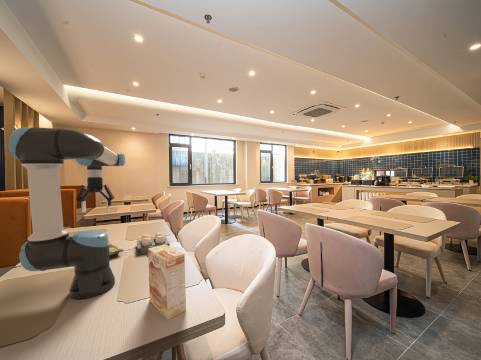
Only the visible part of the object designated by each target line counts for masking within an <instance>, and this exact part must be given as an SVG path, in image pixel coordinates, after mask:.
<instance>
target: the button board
mask: <svg viewBox="0 0 481 360" xmlns="http://www.w3.org/2000/svg"><path fill="white" fill-rule="evenodd" d="M163 236H164V235H163ZM150 238H151V245H150V246H146V247H142V243H141V239H138V240H136V249H137V251H136V252H137V256H140V255H143V254H144V253H146V254H147V253H148V249H149V248H152V247H156V246H160V245H164V244H166V245H168V246H170V245H171V244H170V242H169V240H168V238H167V237H166V236H164V243H163V244H158V245H157V244H156V241H155V237H150ZM170 247H171V246H170ZM139 254H140V255H139ZM144 255H145V254H144Z"/></svg>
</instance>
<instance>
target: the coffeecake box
mask: <svg viewBox="0 0 481 360" xmlns="http://www.w3.org/2000/svg"><path fill="white" fill-rule="evenodd" d="M147 258H148V259H147V260H148V281H149V283H148V284H149V285H148V286H149V293H148V294H149V302H150V303H151V304H152V305H153V306H154V308H156V310H158V312H159V313H160V314H161V315H162V316H163V318H165V319H166V320H167V321H169V320H170V319H172V318H174V317H176V316H177V315H179V314H182V313H184V312H185V311H187V296H186V295H187V294H186V270H185V269H186V261H185V253H183V252H182V251H179V250H178V249H176V248H174V247H172V246H168V245H166V244H164V245H160V246H156V247H152V248H149V249H148V255H147Z"/></svg>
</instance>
